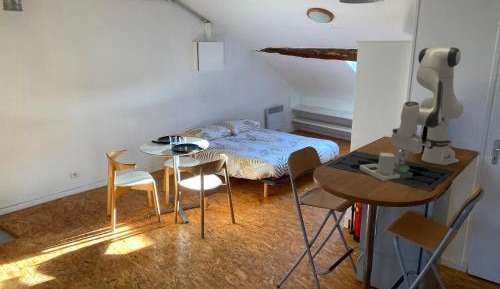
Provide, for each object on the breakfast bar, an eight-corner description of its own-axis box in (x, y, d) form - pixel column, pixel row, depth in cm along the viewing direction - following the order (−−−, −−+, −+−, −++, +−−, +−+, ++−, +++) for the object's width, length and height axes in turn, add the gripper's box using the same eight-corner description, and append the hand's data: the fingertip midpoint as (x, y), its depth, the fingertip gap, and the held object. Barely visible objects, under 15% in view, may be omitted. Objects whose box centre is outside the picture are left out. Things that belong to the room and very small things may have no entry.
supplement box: (392, 179, 210) (395, 156, 206) (378, 178, 211) (380, 155, 208) (390, 174, 217) (393, 153, 213) (377, 173, 218) (379, 152, 215)
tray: (399, 166, 233) (399, 163, 232) (409, 170, 225) (409, 167, 225) (388, 167, 230) (388, 164, 230) (397, 171, 223) (398, 168, 222)
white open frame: (359, 169, 226) (359, 165, 225) (375, 167, 230) (375, 163, 229) (383, 181, 207) (383, 176, 206) (399, 179, 211) (400, 174, 210)
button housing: (403, 174, 218) (403, 169, 217) (412, 178, 212) (412, 173, 211) (393, 175, 216) (393, 170, 215) (401, 180, 209) (402, 174, 209)
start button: (403, 172, 216) (404, 165, 215) (408, 174, 212) (409, 167, 211) (397, 173, 214) (398, 166, 213) (402, 175, 211) (403, 168, 210)
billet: (399, 166, 231) (401, 148, 228) (405, 168, 226) (407, 150, 223) (392, 166, 229) (394, 148, 226) (398, 169, 224) (400, 151, 222)
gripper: (427, 136, 199) (423, 162, 202) (399, 128, 217) (396, 152, 221) (417, 137, 197) (413, 163, 200) (390, 128, 215) (387, 152, 219)
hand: (404, 157), depth 211 cm, fingers closed
